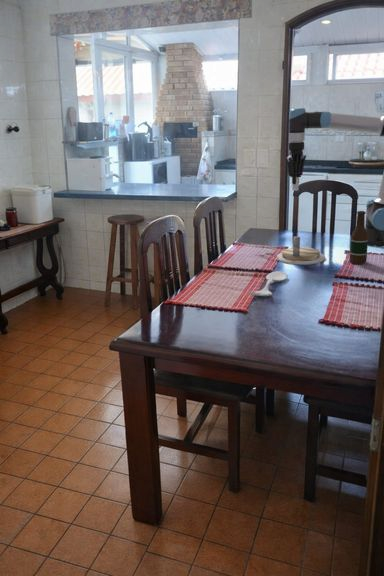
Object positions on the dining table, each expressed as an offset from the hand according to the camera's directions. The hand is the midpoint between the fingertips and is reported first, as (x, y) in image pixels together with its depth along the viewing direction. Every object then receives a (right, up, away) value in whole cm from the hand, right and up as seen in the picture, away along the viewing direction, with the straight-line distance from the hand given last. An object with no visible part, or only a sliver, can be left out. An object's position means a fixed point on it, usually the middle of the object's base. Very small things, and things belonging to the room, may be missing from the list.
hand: (295, 190), depth 259 cm
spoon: (-20, -49, -47) cm, 71 cm away
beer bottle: (+26, -37, -18) cm, 49 cm away
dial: (+1, -34, -8) cm, 35 cm away
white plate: (+1, -35, -8) cm, 36 cm away
